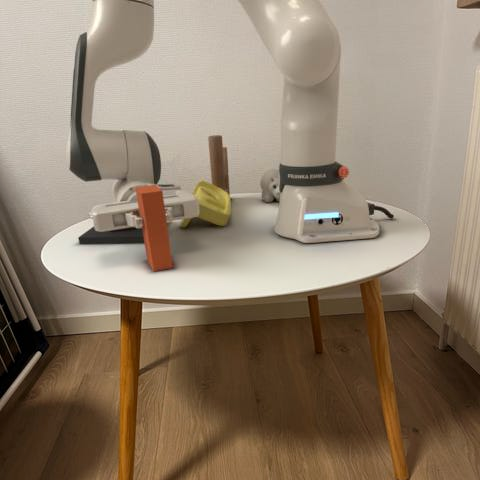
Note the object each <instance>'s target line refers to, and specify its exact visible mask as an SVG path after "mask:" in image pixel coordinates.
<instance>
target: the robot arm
mask: <svg viewBox="0 0 480 480" xmlns="http://www.w3.org/2000/svg"><path fill="white" fill-rule="evenodd" d="M154 1H155V0H92V1H91V2H92V15H91V21H90V23H89V26H88V28H87V30H86V31H84V32H83V33H81V34H79V37H78V39H77V42H76V47H75V55H74V65H73V66H74V67H73V71H72V72H73V73H72V87H71V90H72V91H71V100H70V101H71V103H70V123H69V132H68V134H67V135H68V136H67V139H66V144H65V161H66V163H67V166H68V168H69V169H68V170H69V171H70V172H71V173H72V174H73V175H75V177H77V178H78V179H80V180H82V181H83V182H87V183H88V182H96V181H97V182H99V181H102V180H104V181H105V180H109V181H110V180H115V181H114V182H113V184H112V187H111V199H112V202H108V203H101V204H96V205H95V206H93V207H92V209H91V211H89V212H88V217H89V218H90V220H92V222H93V227H95V230H96V231H100V232H103V231H110V230H116V229H122V228H129V227H135V228H142V227H145V225H144V219H143V217H142V216H140V213H139V207H138V201H137V195H136V189H135V188H136V187H143V186H150V185H156V186H157V187H158V188H159V189H161V190H162V192H163V199H164V207H165V214H166V221H167V225H168V224H172V223H173V221H180V220H182V219H186V218H191V219H194V218H198V217H197V216H199V213H200V211H199V201H198V198H197V197H196V196H195V195H193V192H190V191H188V190H186V189H182V187H181V185H180V184H172V183H171V184H169V183H168V184H158V183H159V181H160V180H161V175H162V161H161V160H162V159H161V153H160V148H159V147H158V145H157V143H156V142H155V140H154V138H153V137H152V136H151V135H150V134H149V133H148V132H147V131H145V130H143V131H142V130H127V129H126V130H125V129H124V130H115V129H114V130H112V129H97V128H95V127H94V126H93V125H92V123H93V113H94V112H93V111H94V102H95V101H94V99H95V87H96V83H97V81H98V79H99V78H100V76H101V75H102V74H104V73H106V72H107V71H108V70H111V69H113V68H115V67H120V66H122V65H126V64H128V63H130V62H133V61H135V60H137V59H139V58H140V57H142V56H143V55H145V54H146V52H148V50H149V48H151V47H150V46H151V45H152V42H153V40H154V33H155V2H154ZM237 1H238V3H239V4H240V6H241V7H242V9H243V11H244V12H245V14H246V15H247V17H248V18H249V20H250V22H251V24H252V26H253V27H254V29H255V31H256V32H257V34H258V36H259V38H260V39H261V41H262V43H263V45H264V47H265V48H266V50H267V51H268V53H269V55H270V56H271V58H272V60H273V61H274V63H275V65H276V66H277V68H278V70H279V71H280V73H281V74H282V76H283V88H282V106H281V115H280V116H281V117H280V164H279V166H278V170H279V175H278V177H279V191H280V202H279V205H278V211H277V217H276V221H275V225H274V229H273V231H274V233H276V234H277V235H278V236H281V237H284V238H288V239H293V240H296V241H298V242H300V243H304V244H313V243H326V242H327V243H329V242H339V241H340V242H341V241H350V240H351V241H352V240H364V239H375V238H376V237H378V236H379V234H380V226H379V223H378V222H377V220H375V219H373V218H371V217H370V216H372V215H375V211H379V212H381V213H383V214H384V215H385V216H386V217H387V218H388V219H394V218H395V216H394V214H393V213H391V212H390V211H389V210H388V209H386V208H385V207H383V206H380V205H376V204H374V203H370V202H368V201H367V200H366V198H365V197H364V196H363V195H362V194H360V192H358V190H356V189H355V188H354V187H353V186H351V185H350V184H349V183H347V182H346V181H345V179H346V178H348V176H349V175H350V170H349V168H348V167H347V166H345V165H343V164H342V163H340V162H338V161H336V155H337V154H336V153H337V134H338V131H337V130H338V113H339V94H340V93H339V92H340V74H341V55H342V48H341V47H342V46H341V38H340V33H339V31H338V29H337V27H336V25H335V24H334V22H333V20H332V19H331V17H330V16H329V14H328V12H327V11H326V8H325V7H324V6H323V4H322V2H321V0H237Z"/></svg>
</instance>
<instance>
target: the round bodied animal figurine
mask: <svg viewBox="0 0 480 480" xmlns="http://www.w3.org/2000/svg"><path fill="white" fill-rule="evenodd" d="M278 175H279V169H277V168H271V169H268V170H266V171H264V173H263V174H262V176H261V178H260V188H261V190H262V191H261V195H260V196H261V198H262V199H263V201H264V202H265V203H272V202H274V199H275V201H276V202H277V203H278V202H279V203H280V191H279V177H278Z"/></svg>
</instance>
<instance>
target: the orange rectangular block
mask: <svg viewBox="0 0 480 480" xmlns="http://www.w3.org/2000/svg"><path fill="white" fill-rule="evenodd" d="M135 189H136V195H137V201H138V207H139V213H140V216H142V217H143V219H144V225H145V227H142V231H143V237H144V243H143V244H144V249H145V255H146V261H147V262H148V263H147V264H149V265H150V268H151V269H152V271H153V272H158V271H163V270H168V269H173V268H174V266H173V258H172V251H171V245H170V244H171V243H170V236H169V230H168V224H167V221H166V214H165V207H164V199H163V192H162V190H161V189H159V188H158V187H157V186H156V185H150V186H143V187H136V188H135Z"/></svg>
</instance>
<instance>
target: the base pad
mask: <svg viewBox="0 0 480 480" xmlns="http://www.w3.org/2000/svg"><path fill="white" fill-rule="evenodd" d="M77 238H78V243H79V244H80V245H99V244H101V245H103V244H104V245H105V244H106V245H107V244H145V243H144V237H143V231H142V228H135V227H129V228H122V229H116V230H110V231H103V232H100V231H96V230H95V227H94V226H92V227H91V228H89V229H88V230H86V231H85V232H84V233H82V234H81V235H80V236H78V237H77Z"/></svg>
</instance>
